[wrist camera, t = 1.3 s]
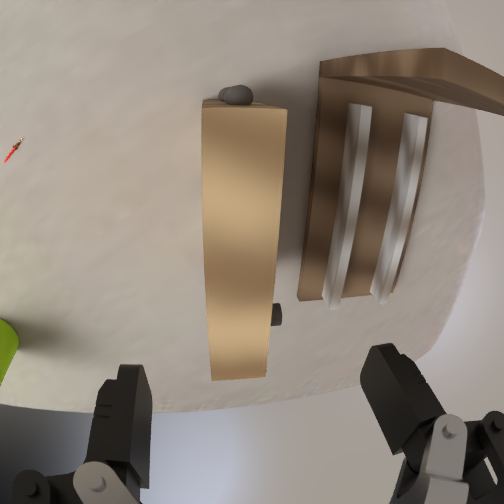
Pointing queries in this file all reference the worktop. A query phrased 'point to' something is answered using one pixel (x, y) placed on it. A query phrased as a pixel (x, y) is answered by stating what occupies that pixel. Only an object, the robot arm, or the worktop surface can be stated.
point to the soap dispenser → (7, 347)
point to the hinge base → (376, 162)
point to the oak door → (241, 228)
